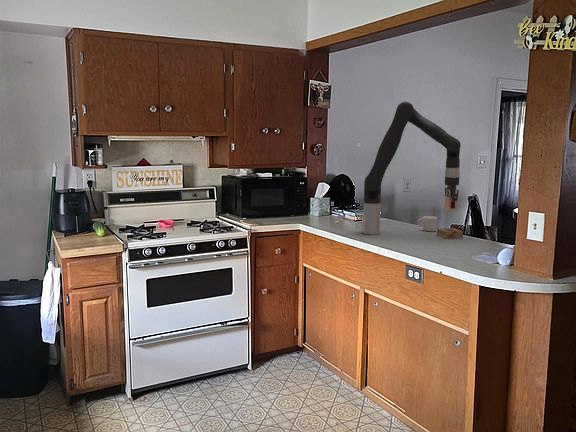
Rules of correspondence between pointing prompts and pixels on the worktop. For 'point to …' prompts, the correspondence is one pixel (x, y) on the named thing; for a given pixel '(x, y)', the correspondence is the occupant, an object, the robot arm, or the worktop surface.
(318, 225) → the worktop surface
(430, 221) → the cup
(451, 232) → the walnut block
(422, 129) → the robot arm
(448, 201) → the terracotta block
